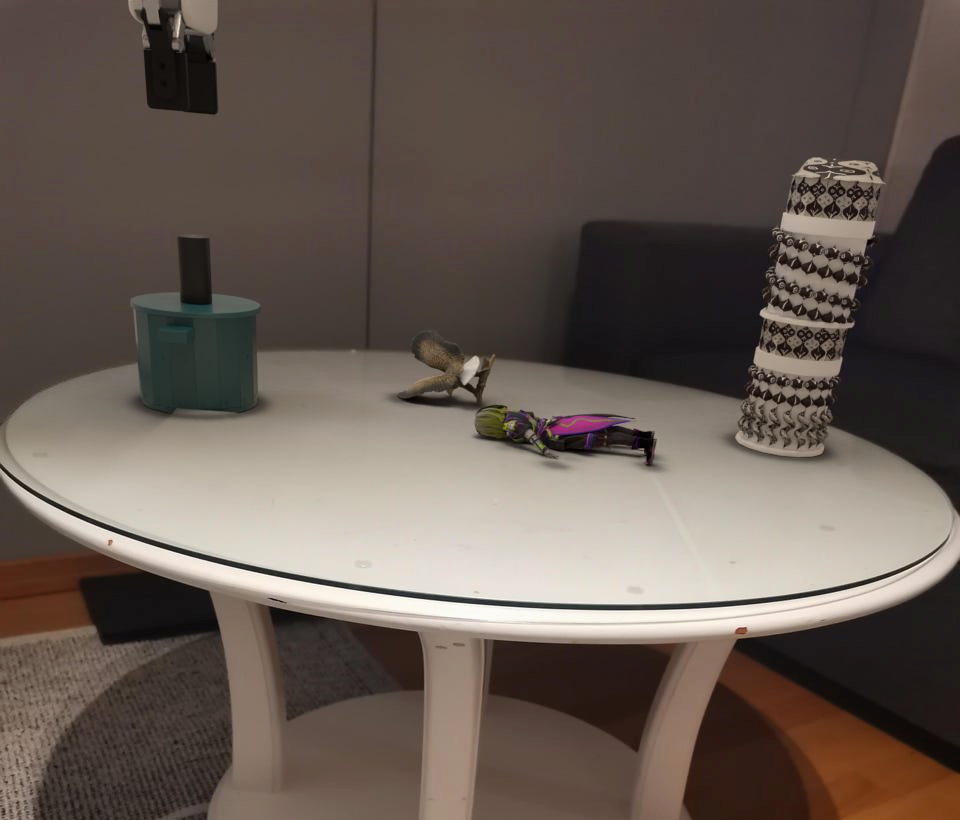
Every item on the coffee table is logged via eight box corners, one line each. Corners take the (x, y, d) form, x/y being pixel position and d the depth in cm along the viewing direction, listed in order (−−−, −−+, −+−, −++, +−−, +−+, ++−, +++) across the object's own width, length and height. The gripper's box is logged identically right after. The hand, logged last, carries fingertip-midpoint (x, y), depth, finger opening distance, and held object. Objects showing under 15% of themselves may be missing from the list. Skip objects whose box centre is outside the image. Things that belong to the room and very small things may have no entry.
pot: (116, 417, 85) (107, 317, 81) (167, 378, 99) (161, 291, 96) (238, 427, 86) (234, 327, 82) (271, 386, 100) (269, 299, 96)
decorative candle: (751, 426, 101) (806, 157, 89) (840, 446, 96) (910, 165, 85) (716, 442, 94) (770, 153, 82) (809, 464, 89) (881, 161, 78)
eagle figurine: (489, 382, 104) (409, 358, 104) (501, 332, 98) (415, 306, 98) (473, 434, 101) (389, 409, 100) (484, 386, 94) (395, 359, 94)
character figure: (646, 449, 91) (477, 425, 91) (654, 409, 89) (481, 385, 90) (653, 479, 83) (467, 452, 83) (662, 436, 81) (472, 409, 81)
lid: (113, 319, 84) (106, 236, 81) (152, 300, 94) (146, 225, 91) (246, 330, 84) (244, 247, 81) (271, 310, 94) (269, 235, 91)
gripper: (154, -122, 81) (168, 110, 89) (80, -183, 66) (105, 104, 74) (244, -113, 82) (250, 118, 89) (192, -172, 66) (204, 113, 74)
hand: (184, 111), depth 82 cm, fingers open, 9 cm apart
